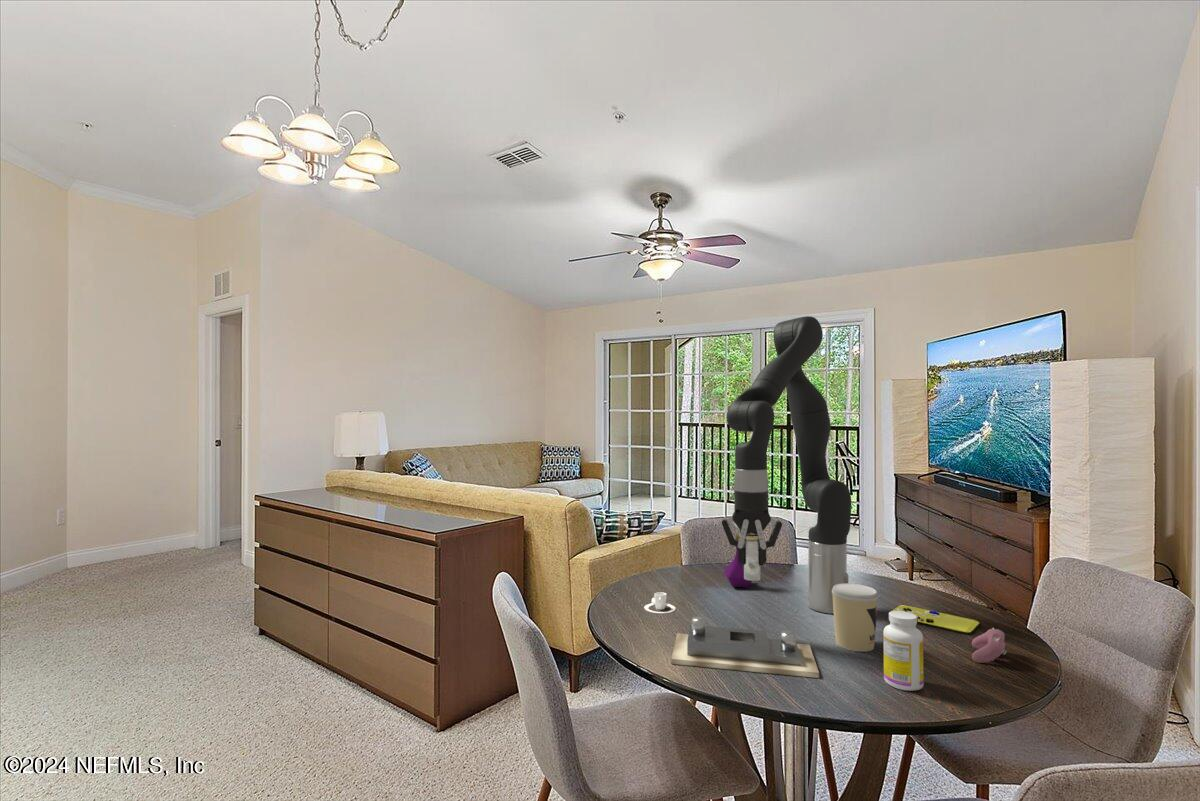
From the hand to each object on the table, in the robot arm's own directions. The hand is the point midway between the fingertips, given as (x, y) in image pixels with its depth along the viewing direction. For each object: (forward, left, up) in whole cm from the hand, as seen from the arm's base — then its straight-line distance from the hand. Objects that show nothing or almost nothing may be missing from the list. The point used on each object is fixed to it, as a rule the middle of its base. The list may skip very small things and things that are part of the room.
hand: (751, 564), depth 136 cm
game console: (-44, -20, -17) cm, 51 cm away
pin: (0, 0, -3) cm, 3 cm away
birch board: (+2, +13, -16) cm, 21 cm away
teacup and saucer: (+20, -15, -17) cm, 30 cm away
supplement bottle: (-27, +19, -16) cm, 36 cm away
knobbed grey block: (+2, +13, -16) cm, 21 cm away
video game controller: (-48, +2, -16) cm, 50 cm away
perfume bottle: (+2, -38, -16) cm, 41 cm away
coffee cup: (-22, +1, -16) cm, 27 cm away
